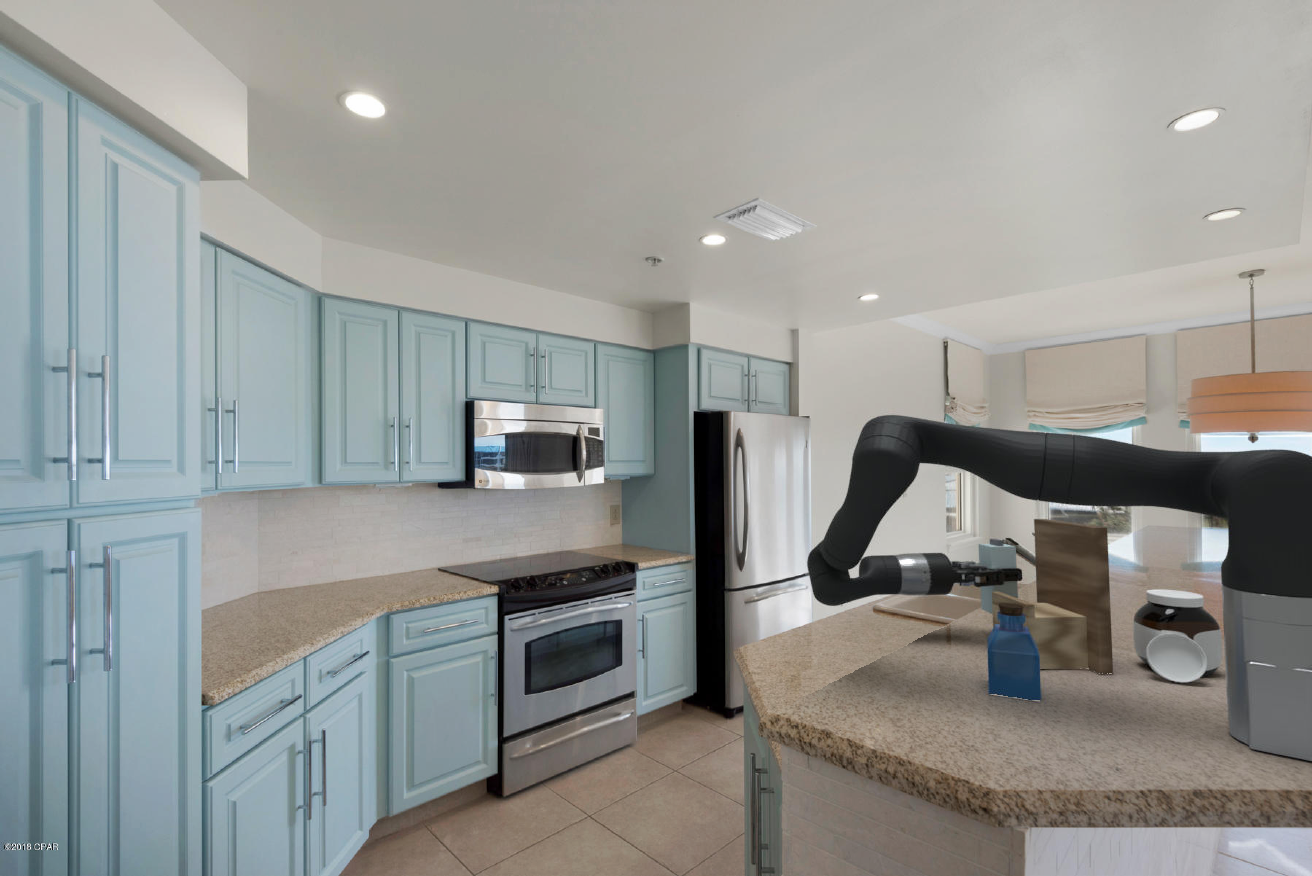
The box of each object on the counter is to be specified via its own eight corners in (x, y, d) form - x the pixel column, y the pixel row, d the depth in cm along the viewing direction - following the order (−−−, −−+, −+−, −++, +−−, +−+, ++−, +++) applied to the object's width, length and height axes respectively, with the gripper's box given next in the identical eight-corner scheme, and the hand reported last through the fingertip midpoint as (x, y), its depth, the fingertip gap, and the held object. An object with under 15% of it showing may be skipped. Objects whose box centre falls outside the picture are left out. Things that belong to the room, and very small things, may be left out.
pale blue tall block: (994, 614, 112) (990, 541, 113) (981, 609, 116) (978, 538, 117) (1018, 614, 112) (1015, 540, 113) (1005, 608, 116) (1001, 538, 117)
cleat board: (1039, 675, 95) (1033, 528, 95) (985, 646, 110) (981, 519, 110) (1113, 674, 95) (1107, 527, 96) (1049, 645, 110) (1045, 518, 111)
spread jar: (1194, 663, 100) (1190, 589, 100) (1254, 688, 88) (1250, 604, 89) (1113, 661, 101) (1110, 588, 101) (1163, 686, 90) (1159, 603, 90)
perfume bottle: (988, 694, 87) (986, 607, 88) (988, 681, 93) (986, 598, 93) (1041, 702, 84) (1038, 611, 85) (1037, 687, 90) (1034, 602, 90)
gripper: (936, 558, 108) (1035, 556, 108) (903, 548, 122) (991, 546, 122) (938, 603, 107) (1038, 601, 107) (904, 587, 122) (993, 585, 122)
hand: (1012, 572), depth 115 cm, fingers closed on pale blue tall block, 4 cm apart
